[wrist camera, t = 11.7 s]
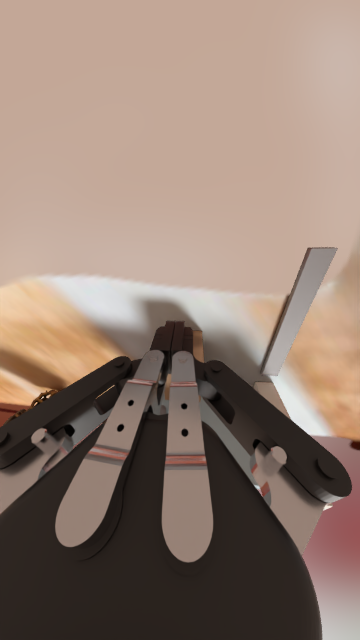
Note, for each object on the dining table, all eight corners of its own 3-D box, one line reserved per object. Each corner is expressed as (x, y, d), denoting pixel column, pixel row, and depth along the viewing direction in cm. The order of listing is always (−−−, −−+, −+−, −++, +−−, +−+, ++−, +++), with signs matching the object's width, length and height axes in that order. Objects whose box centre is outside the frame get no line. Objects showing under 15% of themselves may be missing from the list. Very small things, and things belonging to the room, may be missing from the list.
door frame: (336, 247, 16) (751, 323, 4) (257, 415, 33) (292, 523, 21) (304, 247, 16) (609, 320, 4) (243, 414, 33) (269, 521, 21)
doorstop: (202, 330, 23) (203, 361, 18) (199, 368, 27) (200, 402, 22) (167, 329, 23) (160, 359, 18) (170, 366, 27) (165, 399, 22)
